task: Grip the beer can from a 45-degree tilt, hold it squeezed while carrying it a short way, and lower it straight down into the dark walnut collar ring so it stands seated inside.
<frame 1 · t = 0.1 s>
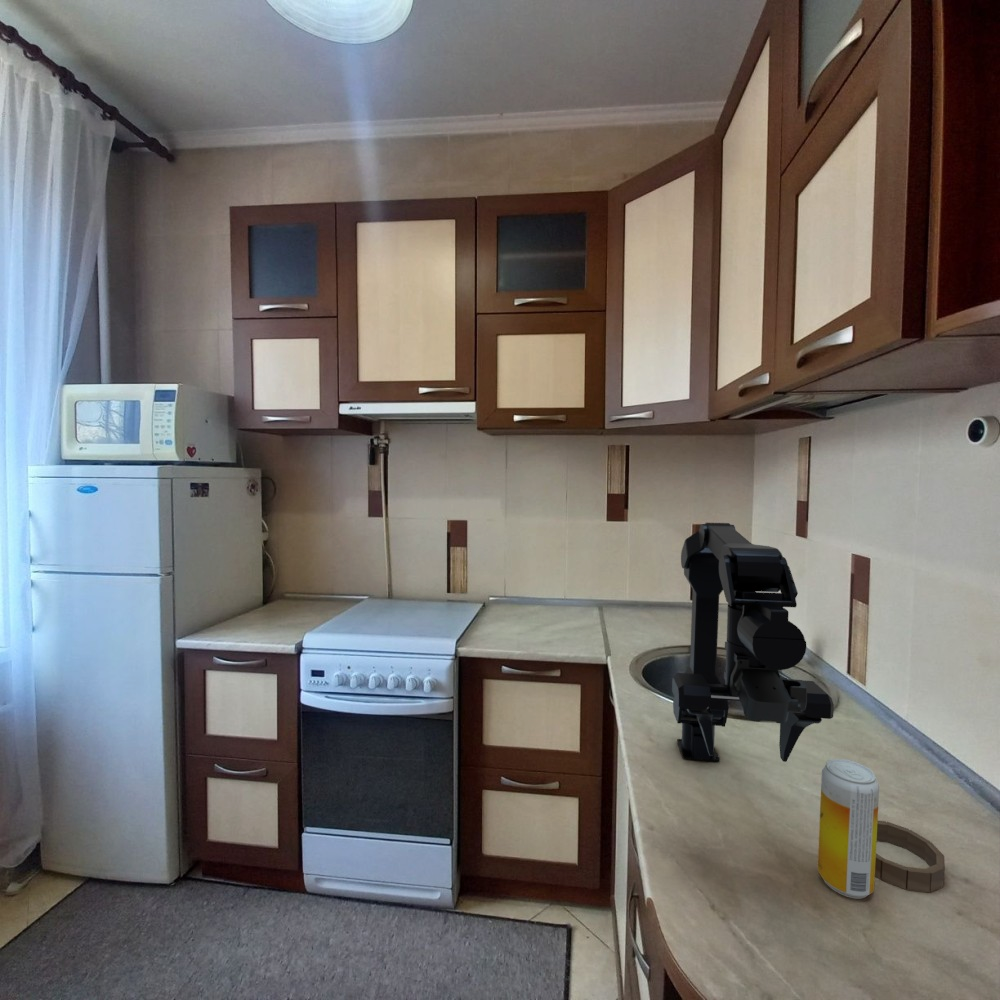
hand: (746, 757, 71), 15 cm above the counter, tool pointing down, fingers open, 9 cm apart
collar: (895, 862, 72), on the counter
beer can: (844, 884, 68), on the counter
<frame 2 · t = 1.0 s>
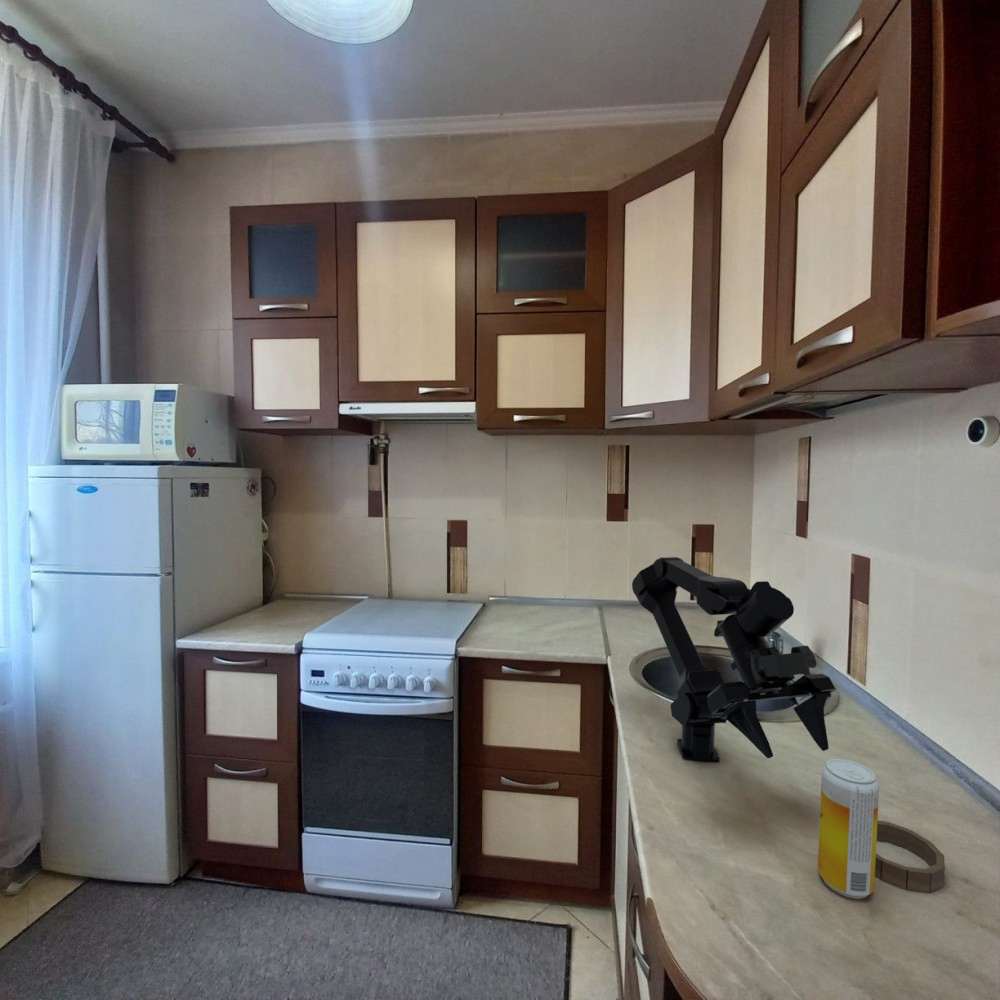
hand: (798, 753, 75), 13 cm above the counter, tool tilted 45°, fingers open, 9 cm apart
nothing on the counter moved.
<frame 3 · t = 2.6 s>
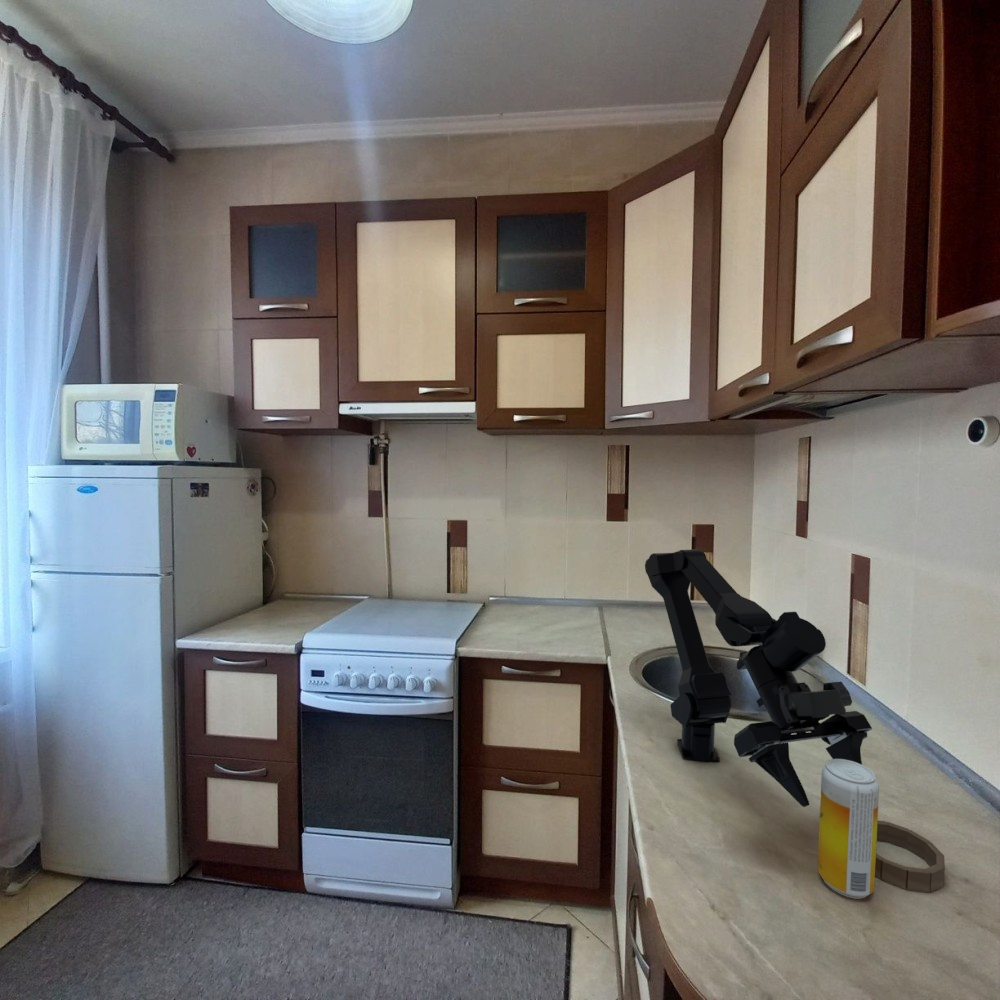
hand: (836, 801, 69), 10 cm above the counter, tool tilted 45°, fingers open, 9 cm apart
nothing on the counter moved.
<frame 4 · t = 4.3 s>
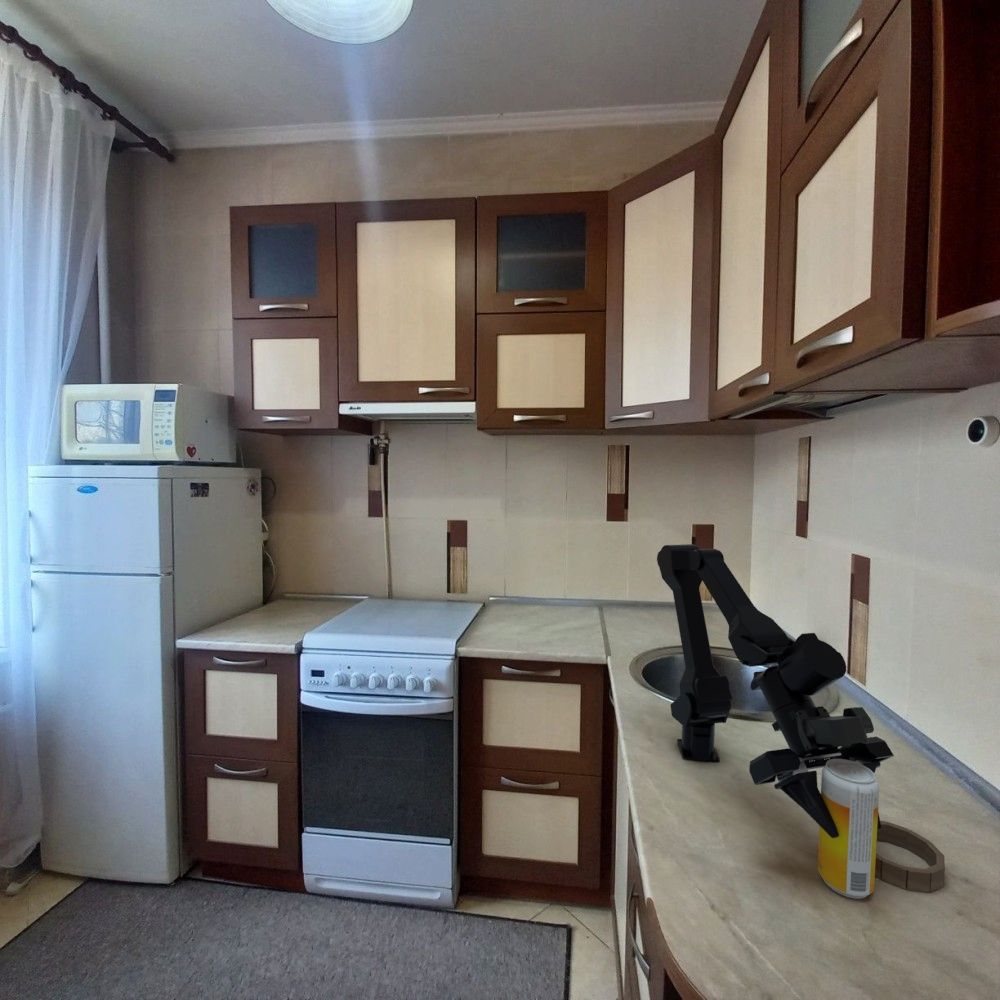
hand: (857, 833, 66), 8 cm above the counter, tool tilted 45°, fingers closed on beer can, 6 cm apart
beer can: (844, 884, 68), on the counter, touching gripper
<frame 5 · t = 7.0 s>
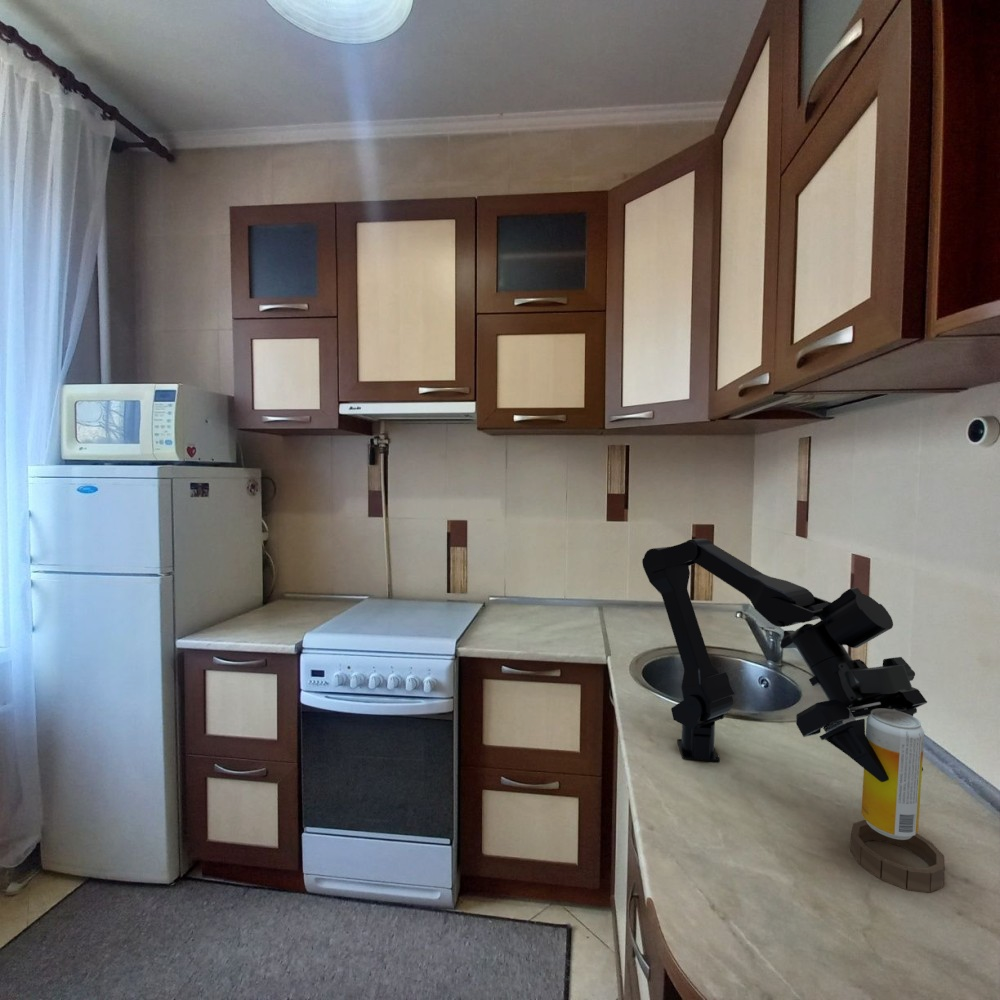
hand: (902, 776, 69), 13 cm above the counter, tool tilted 45°, fingers closed on beer can, 6 cm apart
beer can: (888, 828, 71), point 5 cm above the counter, touching gripper
when the fingers open (9 cm above the counter, at t = 9.6 s): beer can stays where it is, resting in collar.
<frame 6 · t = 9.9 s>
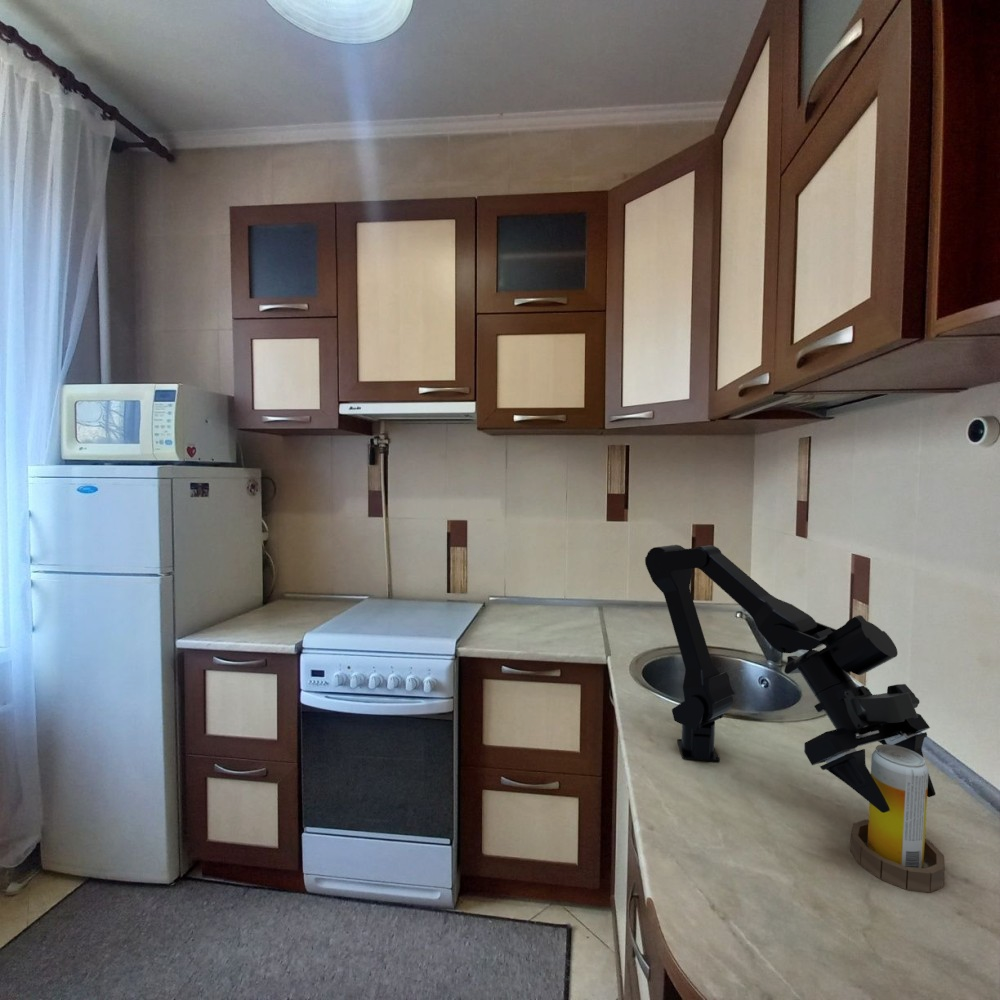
hand: (909, 803, 70), 9 cm above the counter, tool tilted 45°, fingers open, 9 cm apart
beer can: (894, 863, 72), resting in collar
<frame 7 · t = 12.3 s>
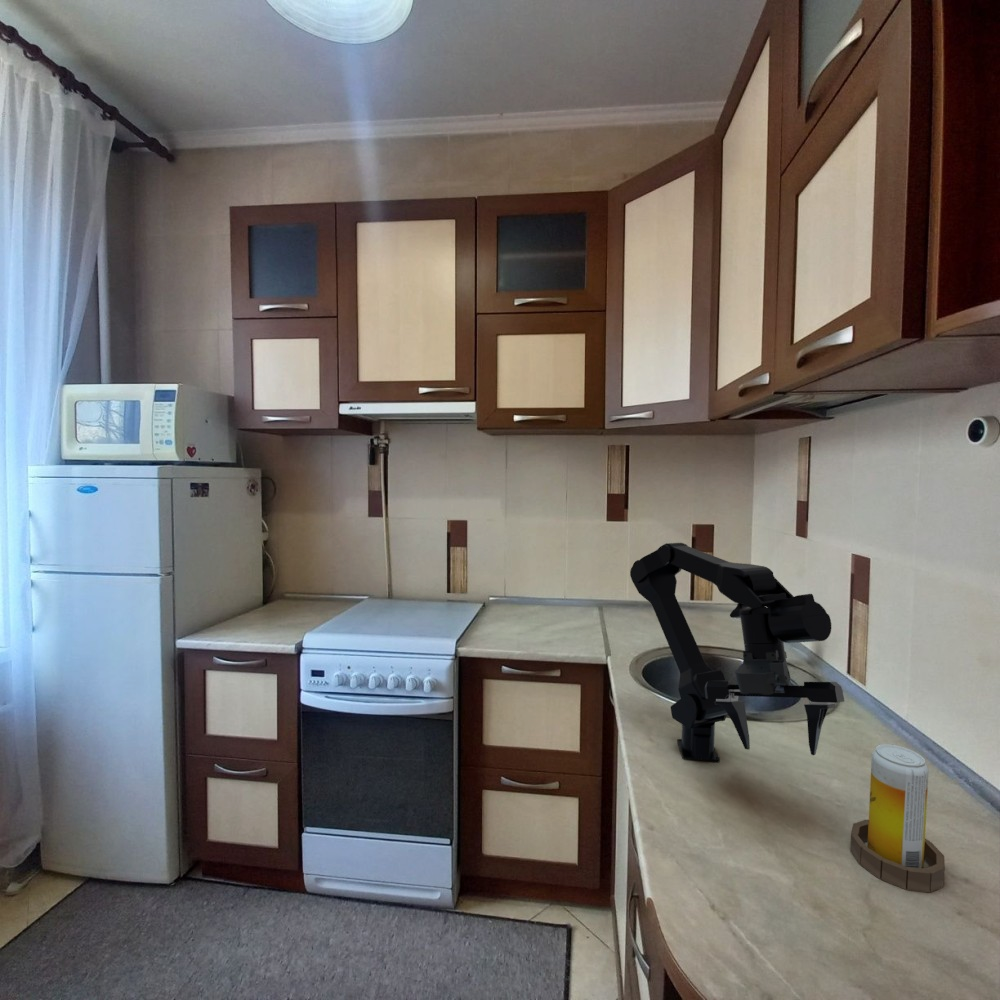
hand: (779, 751, 80), 10 cm above the counter, tool tilted 20°, fingers open, 9 cm apart
nothing on the counter moved.
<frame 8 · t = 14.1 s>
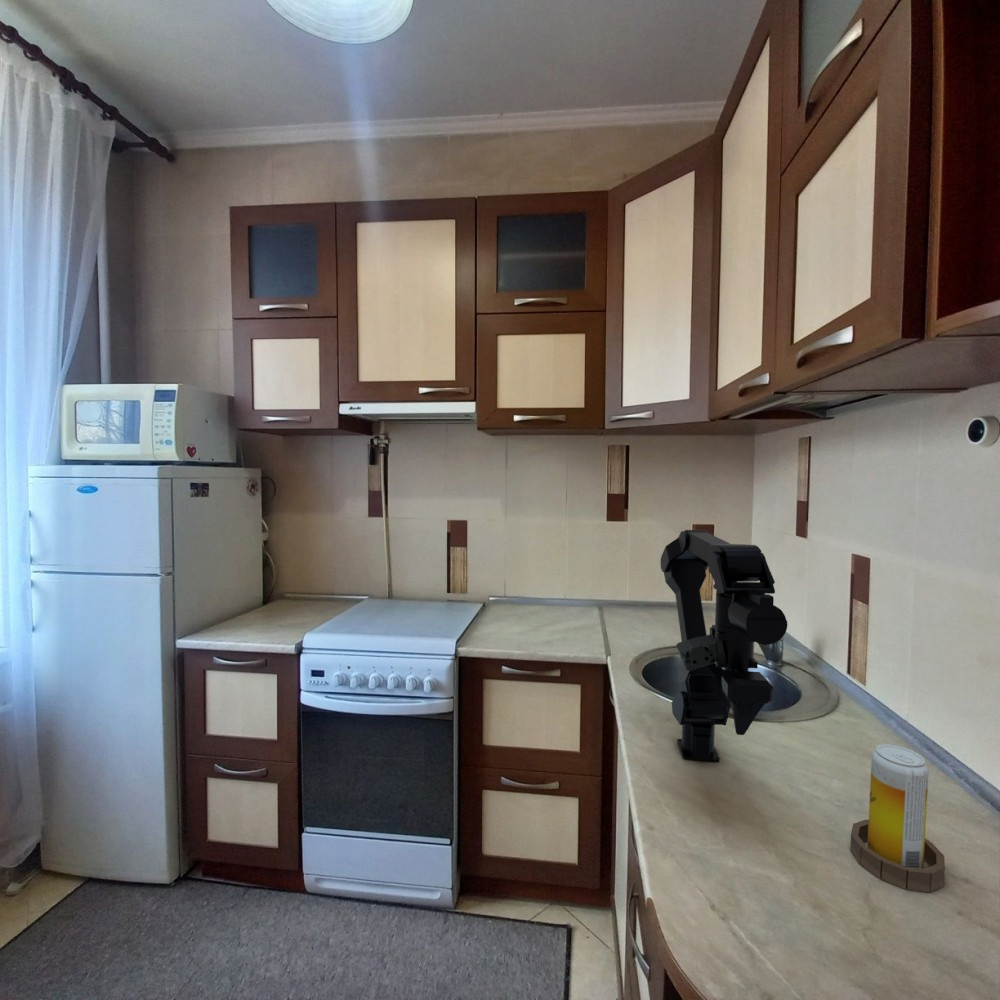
hand: (731, 720, 85), 13 cm above the counter, tool pointing down, fingers open, 9 cm apart
nothing on the counter moved.
at the end: beer can 0.1 cm off-centre on the collar, point 0.0 cm above the collar's base; beer can tilted 0°; the gripper is holding nothing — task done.
